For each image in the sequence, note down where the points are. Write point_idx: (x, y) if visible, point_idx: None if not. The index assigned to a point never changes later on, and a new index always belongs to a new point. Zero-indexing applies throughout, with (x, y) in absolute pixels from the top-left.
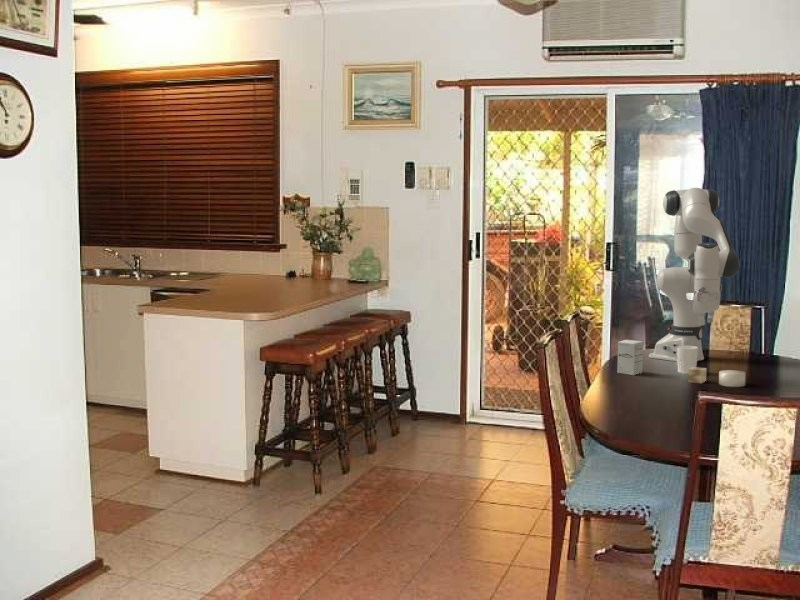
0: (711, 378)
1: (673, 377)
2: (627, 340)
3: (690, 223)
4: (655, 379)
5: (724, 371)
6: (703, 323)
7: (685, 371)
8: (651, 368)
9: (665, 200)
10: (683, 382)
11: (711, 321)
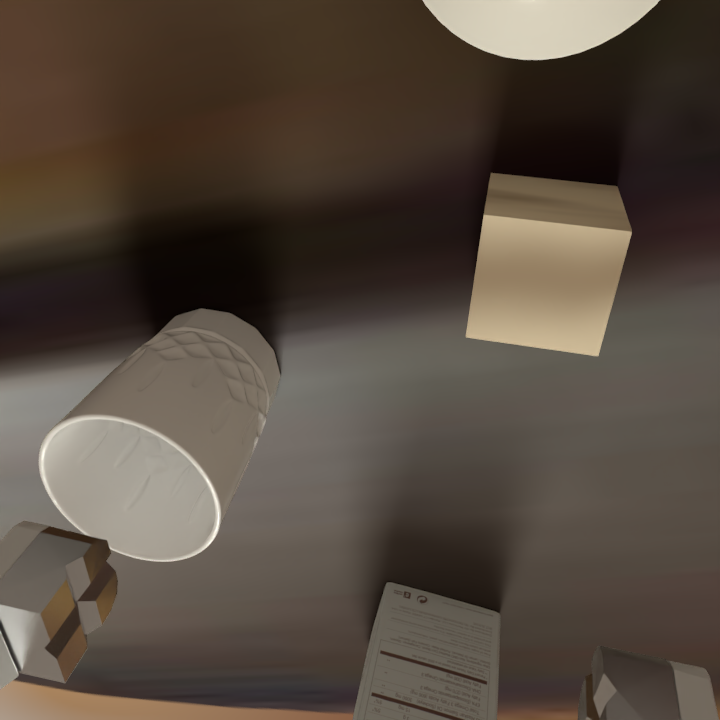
0: (349, 155)
1: (451, 414)
2: None
3: None
4: (580, 502)
5: (516, 2)
6: (715, 710)
7: (273, 373)
8: (228, 551)
9: None
10: (625, 326)
11: (87, 558)
